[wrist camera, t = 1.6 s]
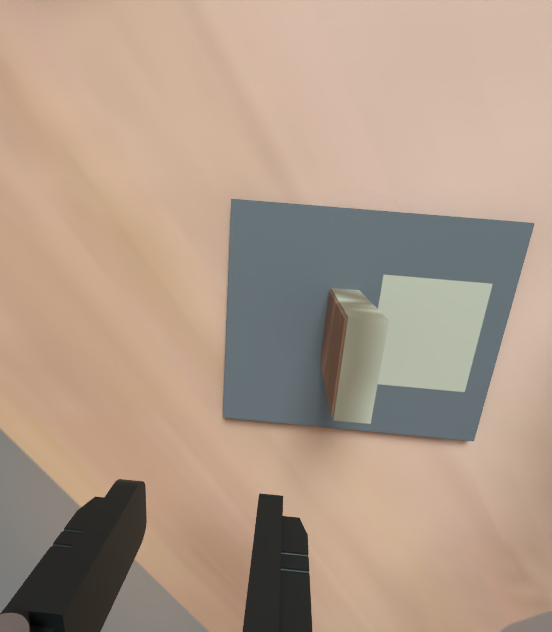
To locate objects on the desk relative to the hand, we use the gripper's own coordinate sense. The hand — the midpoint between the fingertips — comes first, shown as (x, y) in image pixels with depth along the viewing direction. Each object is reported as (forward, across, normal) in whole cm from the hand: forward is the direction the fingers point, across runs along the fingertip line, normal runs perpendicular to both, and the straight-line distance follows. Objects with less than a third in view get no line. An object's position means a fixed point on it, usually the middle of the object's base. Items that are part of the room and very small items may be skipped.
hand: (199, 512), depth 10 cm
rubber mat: (+21, -9, 0) cm, 23 cm away
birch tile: (+20, -7, 0) cm, 21 cm away
